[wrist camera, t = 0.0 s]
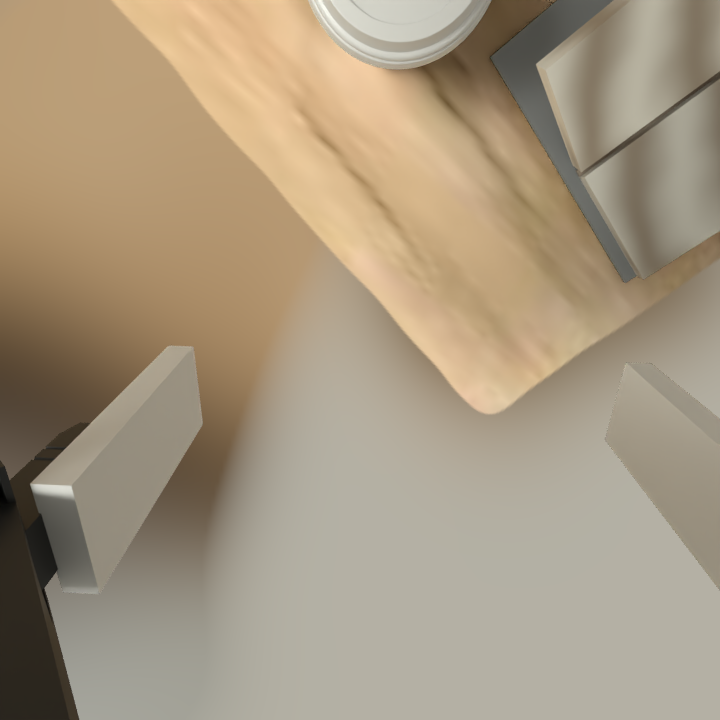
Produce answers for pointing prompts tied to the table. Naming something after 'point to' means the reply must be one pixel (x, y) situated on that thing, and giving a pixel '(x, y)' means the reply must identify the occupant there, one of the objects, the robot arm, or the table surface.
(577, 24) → the underlay
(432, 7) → the coffee cup
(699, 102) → the laid board
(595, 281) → the table surface
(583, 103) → the plank
